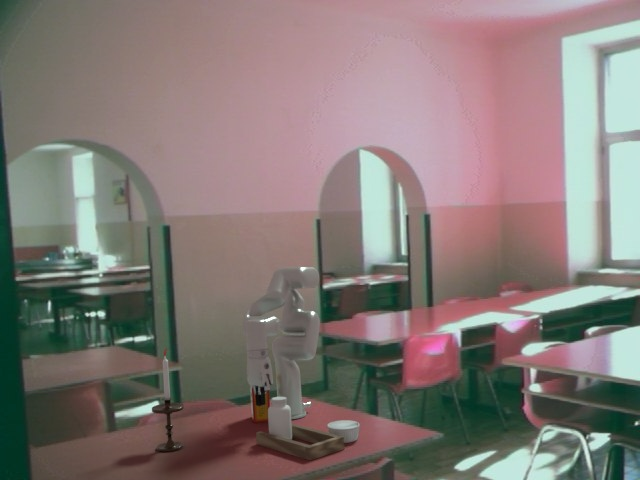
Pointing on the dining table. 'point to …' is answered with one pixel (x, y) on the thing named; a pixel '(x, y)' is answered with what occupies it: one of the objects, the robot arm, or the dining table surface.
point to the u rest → (322, 440)
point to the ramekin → (345, 429)
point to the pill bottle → (280, 418)
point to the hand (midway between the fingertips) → (260, 404)
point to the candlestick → (168, 412)
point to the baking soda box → (259, 408)
